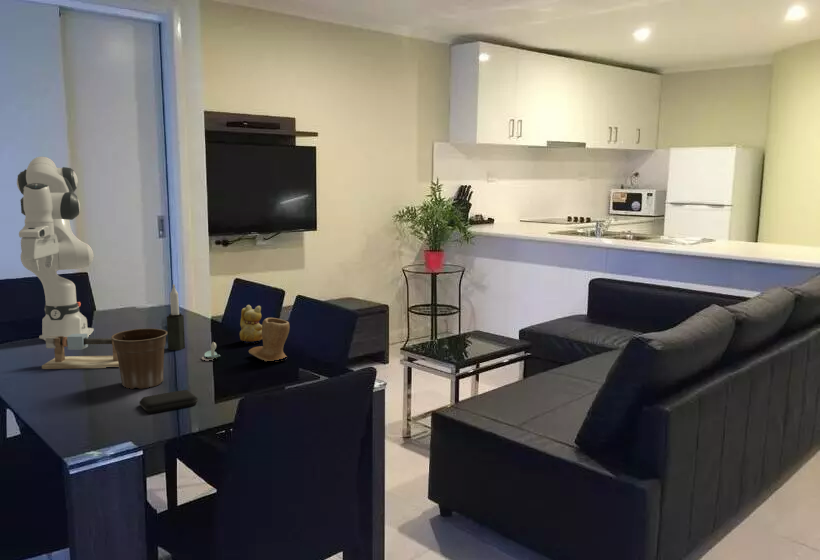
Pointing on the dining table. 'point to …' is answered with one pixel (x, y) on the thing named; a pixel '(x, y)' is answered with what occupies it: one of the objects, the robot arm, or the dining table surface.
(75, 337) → the marker sleeve
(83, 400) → the dining table surface
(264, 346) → the brown clay boot vase
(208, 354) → the pacifier
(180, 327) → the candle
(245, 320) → the decorative figurine
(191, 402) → the carrying case or bag
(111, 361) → the cord stand
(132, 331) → the plant pot
